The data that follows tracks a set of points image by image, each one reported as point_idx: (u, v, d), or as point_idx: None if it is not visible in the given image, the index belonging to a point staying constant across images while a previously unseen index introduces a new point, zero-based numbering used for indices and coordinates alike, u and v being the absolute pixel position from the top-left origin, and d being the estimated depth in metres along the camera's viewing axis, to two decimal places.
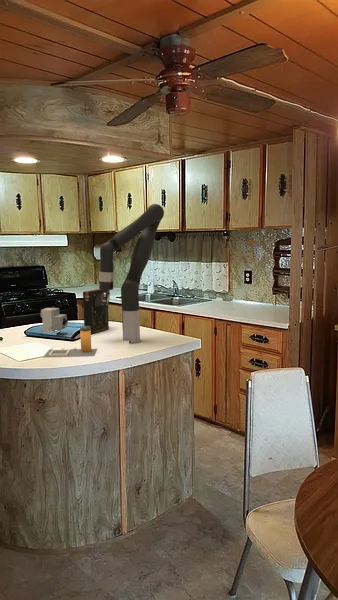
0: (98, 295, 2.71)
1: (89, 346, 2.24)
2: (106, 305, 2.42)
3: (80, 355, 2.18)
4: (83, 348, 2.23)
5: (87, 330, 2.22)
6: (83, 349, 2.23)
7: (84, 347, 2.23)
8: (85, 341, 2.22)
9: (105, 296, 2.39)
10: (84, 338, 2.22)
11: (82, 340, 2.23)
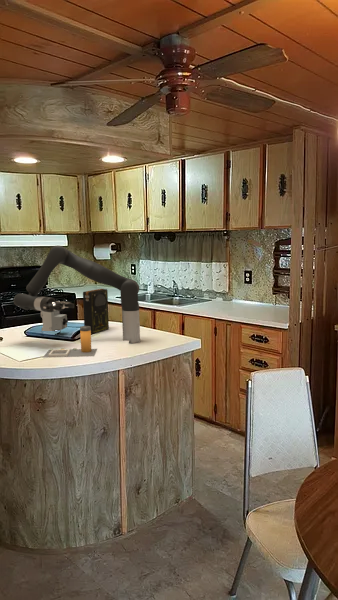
0: (98, 295, 2.71)
1: (89, 346, 2.24)
2: (55, 306, 2.26)
3: (80, 355, 2.18)
4: (83, 348, 2.23)
5: (87, 330, 2.22)
6: (83, 349, 2.23)
7: (84, 347, 2.23)
8: (85, 341, 2.22)
9: (45, 306, 2.27)
10: (84, 338, 2.22)
11: (82, 340, 2.23)
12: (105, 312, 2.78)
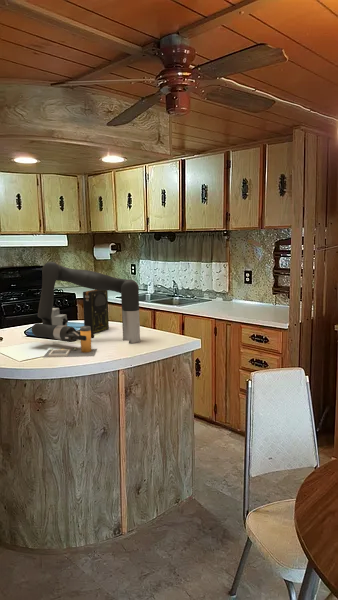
0: (98, 295, 2.71)
1: (89, 346, 2.24)
2: (79, 336, 2.22)
3: (80, 355, 2.18)
4: (83, 348, 2.23)
5: (87, 330, 2.22)
6: (83, 349, 2.23)
7: (84, 347, 2.23)
8: (85, 341, 2.22)
9: (67, 337, 2.22)
10: None
11: (82, 340, 2.23)
12: (105, 312, 2.78)
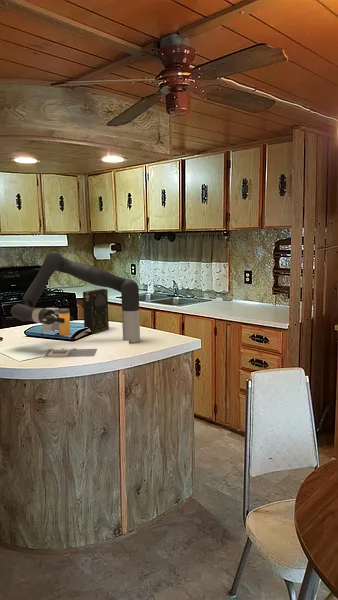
0: (98, 295, 2.71)
1: (67, 329, 2.19)
2: (58, 318, 2.17)
3: (80, 355, 2.18)
4: (61, 331, 2.18)
5: (66, 312, 2.17)
6: (61, 332, 2.18)
7: (62, 329, 2.18)
8: (63, 324, 2.17)
9: (45, 319, 2.17)
10: None
11: (60, 323, 2.18)
12: (105, 312, 2.78)
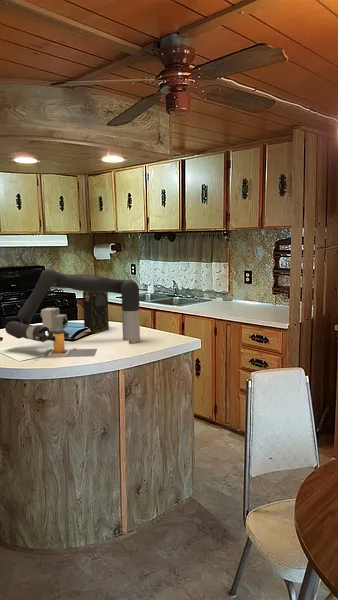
0: (98, 295, 2.71)
1: (62, 349, 2.18)
2: (48, 336, 2.16)
3: (80, 355, 2.18)
4: (56, 351, 2.18)
5: (60, 333, 2.17)
6: (56, 352, 2.18)
7: (57, 350, 2.17)
8: (58, 344, 2.17)
9: (37, 337, 2.17)
10: (57, 341, 2.17)
11: (55, 343, 2.17)
12: (105, 312, 2.78)
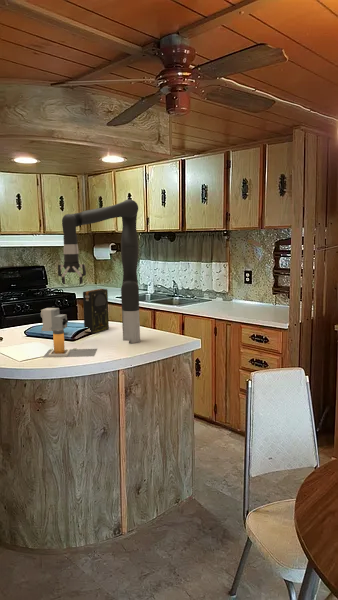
0: (98, 295, 2.71)
1: (62, 349, 2.18)
2: (62, 277, 2.41)
3: (80, 355, 2.18)
4: (56, 351, 2.18)
5: (60, 333, 2.17)
6: (56, 352, 2.18)
7: (57, 350, 2.17)
8: (58, 344, 2.17)
9: None
10: (57, 341, 2.17)
11: (55, 343, 2.17)
12: (105, 312, 2.78)
